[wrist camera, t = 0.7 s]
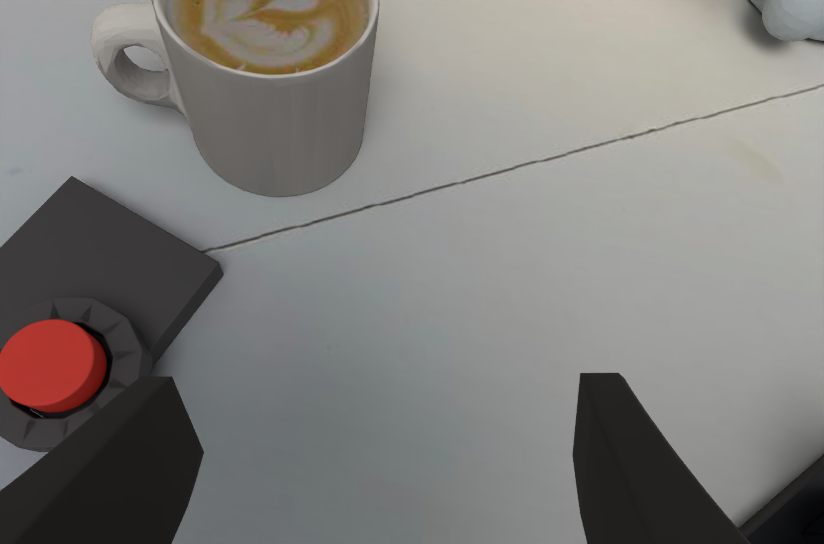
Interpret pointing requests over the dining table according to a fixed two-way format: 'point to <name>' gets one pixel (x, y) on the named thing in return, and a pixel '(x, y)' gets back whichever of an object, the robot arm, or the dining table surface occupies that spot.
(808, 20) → the figurine
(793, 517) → the bracket
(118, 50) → the coffee mug
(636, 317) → the dining table surface
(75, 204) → the button block
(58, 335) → the button
